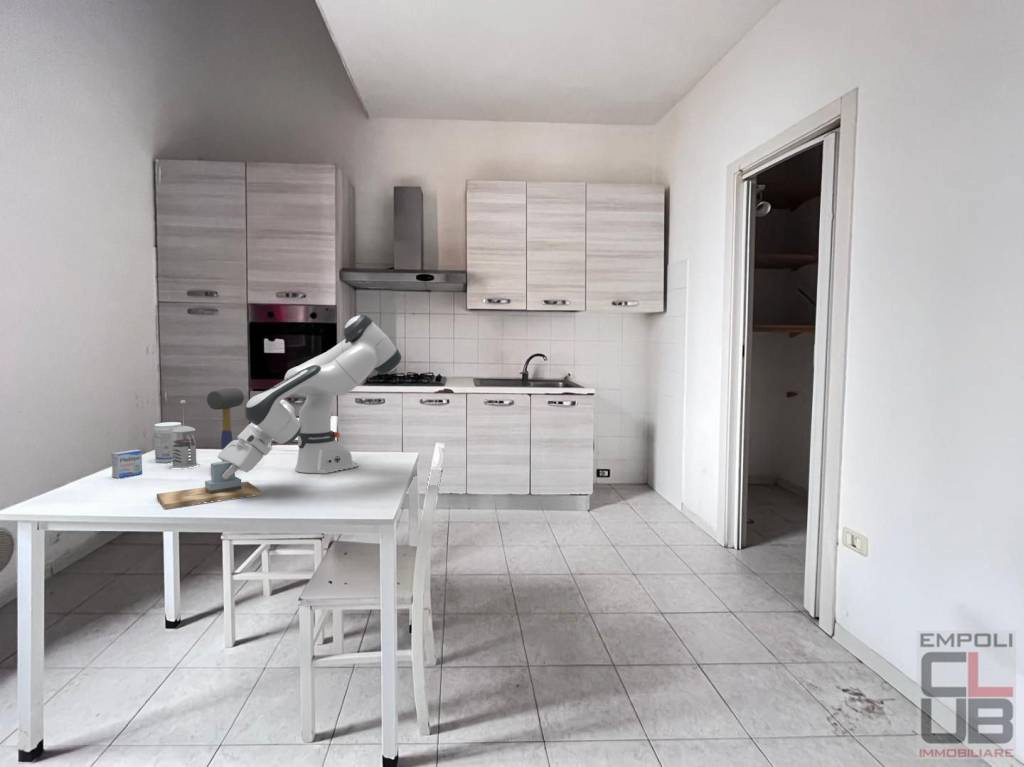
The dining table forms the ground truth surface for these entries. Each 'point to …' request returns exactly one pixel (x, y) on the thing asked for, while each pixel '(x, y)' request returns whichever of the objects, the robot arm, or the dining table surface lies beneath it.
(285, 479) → the dining table surface
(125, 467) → the medicine box
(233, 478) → the block
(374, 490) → the dining table surface
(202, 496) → the oak board
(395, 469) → the dining table surface
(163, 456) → the supplement tub
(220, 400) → the rubber mallet
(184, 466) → the french press
